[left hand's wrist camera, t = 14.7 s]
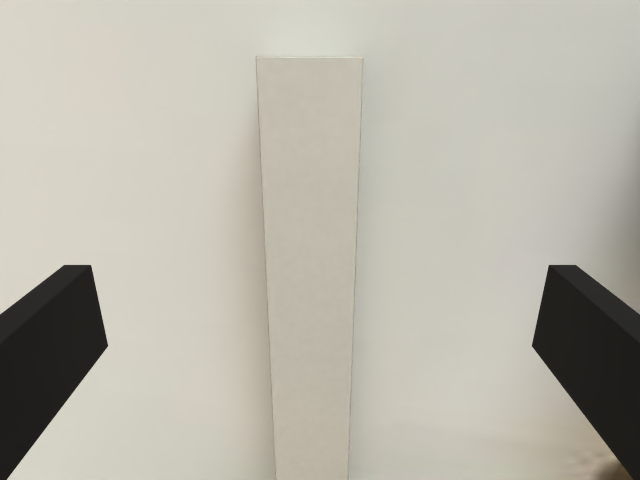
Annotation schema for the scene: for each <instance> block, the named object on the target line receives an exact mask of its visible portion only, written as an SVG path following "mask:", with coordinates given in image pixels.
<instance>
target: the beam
mask: <svg viewBox="0 0 640 480" xmlns="http://www.w3.org/2000/svg"><path fill="white" fill-rule="evenodd" d="M256 73H257V94H258V115H259V136H260V158H261V179H262V200H263V221H264V242H265V263H266V284H267V306H268V327H269V348H270V369H271V390H272V411H273V432H274V454H275V475H276V480H348V464H349V436H350V409H351V381H352V354H353V326H354V299H355V271H356V244H357V216H358V189H359V161H360V134H361V106H362V79H363V57H362V56H257V57H256Z"/></svg>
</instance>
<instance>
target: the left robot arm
mask: <svg viewBox="0 0 640 480" xmlns="http://www.w3.org/2000/svg"><path fill="white" fill-rule="evenodd" d="M107 347H108V343H107V339H106V334H105V329H104V324H103V320H102V315H101V310H100V305H99V301H98V296H97V291H96V286H95V282H94V277H93V272H92V267H91V265H64V266H62V267H61V268H60V269H59V270H57V271H56V272H55V273H53V274H52V275H51V276H50V277H48V278H47V279H46V280H44V281H43V282H42V283H41V284H39V285H38V286H37V287H35V288H34V289H33V290H31V291H30V292H29V293H28V294H26V295H25V296H24V297H22V298H21V299H20V300H19V301H17V302H16V303H15V304H13V305H12V306H11V307H10V308H8V309H7V310H6V311H4V312H3V313H2V314H0V480H7V478H8V477H9V476H10V474H11V473H12V472H13V471H14V469H15V468H16V467H17V465H18V464H19V463H20V461H21V460H22V459H23V457H24V456H25V455H26V453H27V452H28V451H29V449H30V448H31V447H32V446H33V444H34V443H35V442H36V440H37V439H38V438H39V436H40V435H41V434H42V432H43V431H44V430H45V428H46V427H47V426H48V424H49V423H50V422H51V420H52V419H53V418H54V417H55V415H56V414H57V413H58V411H59V410H60V409H61V407H62V406H63V405H64V403H65V402H66V401H67V399H68V398H69V397H70V395H71V394H72V393H73V392H74V390H75V389H76V388H77V386H78V385H79V384H80V382H81V381H82V380H83V378H84V377H85V376H86V374H87V373H88V372H89V370H90V369H91V368H92V367H93V365H94V364H95V363H96V361H97V360H98V359H99V357H100V356H101V355H102V353H103V352H104V351H105V349H106V348H107ZM532 347H533V348H534V349H535V351H536V352H537V353H538V355H539V356H540V357H541V359H542V360H543V361H544V363H545V364H546V365H547V367H548V368H549V369H550V370H551V372H552V373H553V374H554V376H555V377H556V378H557V380H558V381H559V382H560V384H561V385H562V386H563V388H564V389H565V390H566V392H567V393H568V394H569V395H570V397H571V398H572V399H573V401H574V402H575V403H576V405H577V406H578V407H579V409H580V410H581V411H582V413H583V414H584V415H585V417H586V418H587V419H588V420H589V422H590V423H591V424H592V426H593V427H594V428H595V430H596V431H597V432H598V434H599V435H600V436H601V438H602V439H603V440H604V442H605V443H606V444H607V446H608V447H609V448H610V449H611V451H612V452H613V453H614V455H615V456H616V457H617V459H618V460H619V461H620V463H621V464H622V465H623V467H624V468H625V469H626V471H627V472H628V473H629V474H630V476H631V477H632V478H633V480H640V314H638V313H637V312H636V311H634V310H633V309H632V308H630V307H629V306H628V305H627V304H625V303H624V302H623V301H621V300H620V299H619V298H618V297H616V296H615V295H614V294H612V293H611V292H610V291H609V290H607V289H606V288H605V287H603V286H602V285H601V284H599V283H598V282H597V281H596V280H594V279H593V278H592V277H590V276H589V275H588V274H587V273H585V272H584V271H583V270H581V269H580V268H579V267H578V266H576V265H549V267H548V272H547V277H546V282H545V286H544V291H543V296H542V301H541V305H540V310H539V315H538V320H537V324H536V329H535V334H534V339H533V343H532Z"/></svg>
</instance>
